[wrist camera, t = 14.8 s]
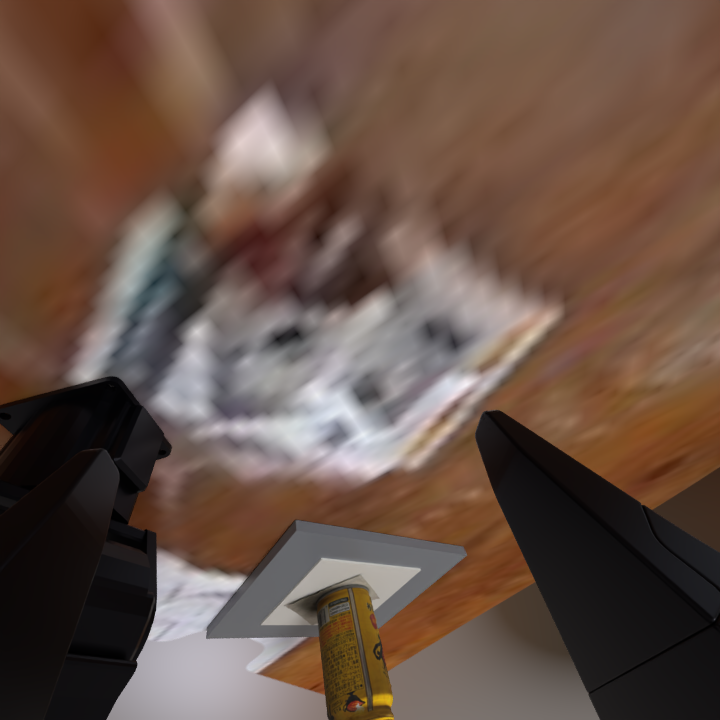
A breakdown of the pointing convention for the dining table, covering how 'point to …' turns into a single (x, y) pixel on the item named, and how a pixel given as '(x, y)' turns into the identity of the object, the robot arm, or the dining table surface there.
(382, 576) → the grey square board
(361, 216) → the dining table surface
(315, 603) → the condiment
